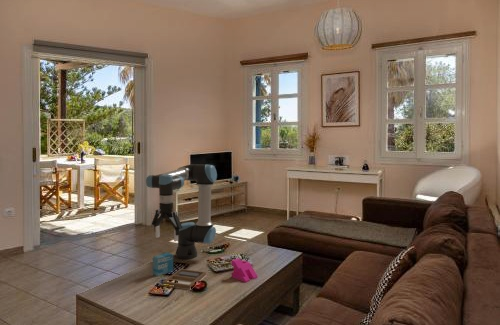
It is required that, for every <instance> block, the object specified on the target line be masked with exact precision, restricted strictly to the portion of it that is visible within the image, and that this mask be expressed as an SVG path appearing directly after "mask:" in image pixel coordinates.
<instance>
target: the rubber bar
mask: <svg viewBox="0 0 500 325" xmlns="http://www.w3.org/2000/svg"><path fill="white" fill-rule="evenodd" d="M178 275H179V276H186V277H193V278H198V277H199V276H200V274H198V273H191V272H183V271H181V272H180V273H179V274H178Z"/></svg>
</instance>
